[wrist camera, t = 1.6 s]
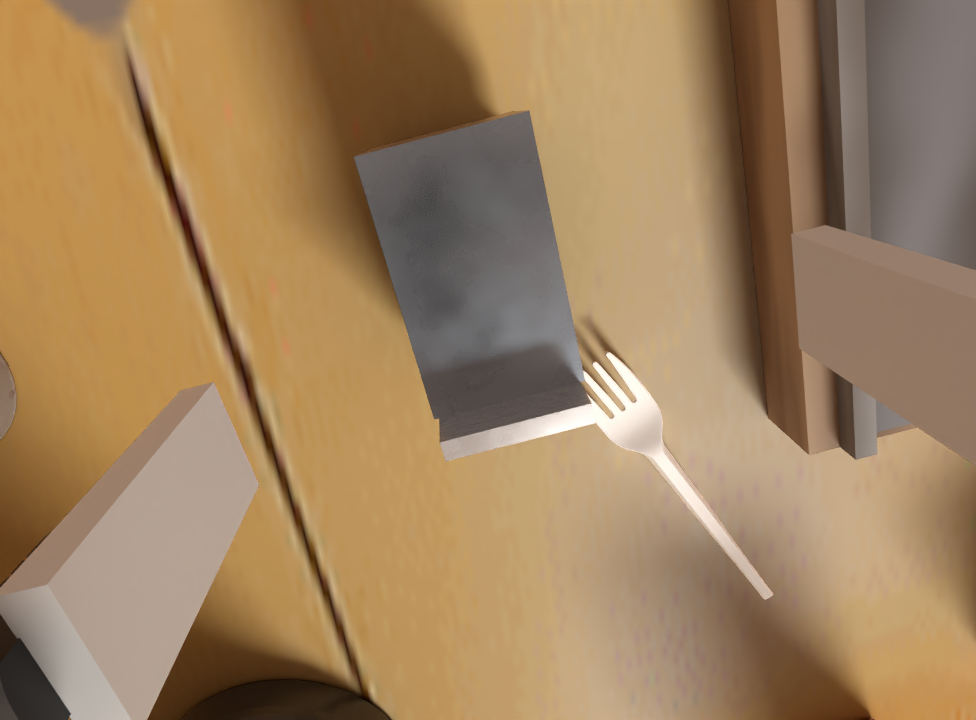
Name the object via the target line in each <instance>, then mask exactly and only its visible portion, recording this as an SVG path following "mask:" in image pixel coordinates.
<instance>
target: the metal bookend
mask: <svg viewBox="0 0 976 720" xmlns="http://www.w3.org/2000/svg"><path fill="white" fill-rule="evenodd" d="M354 160H355V163H356V166H357V169H358V173H359V176H360V179H361V182H362V186H363V189H364V192H365V195H366V199H367V202H368V205H369V208H370V212H371V215H372V218H373V221H374V225H375V228H376V231H377V234H378V238H379V241H380V244H381V247H382V251H383V254H384V257H385V260H386V264H387V267H388V270H389V273H390V277H391V280H392V283H393V286H394V290H395V293H396V296H397V300H398V303H399V306H400V309H401V313H402V316H403V319H404V322H405V326H406V329H407V332H408V335H409V339H410V342H411V345H412V348H413V352H414V355H415V358H416V361H417V365H418V368H419V371H420V374H421V378H422V381H423V384H424V387H425V391H426V394H427V397H428V400H429V404H430V407H431V410H432V413H433V417H434V419H438V418H439V423H440V444H441V448H442V451H443V454H444V457H445V461H449V460H453V459H457V458H461V457H465V456H469V455H473V454H476V453H480V452H484V451H488V450H492V449H496V448H500V447H504V446H508V445H512V444H515V443H519V442H523V441H527V440H531V439H535V438H539V437H543V436H547V435H551V434H554V433H558V432H562V431H566V430H570V429H574V428H578V427H582V426H586V425H589V424H593V423H596V421H595V416H594V411H593V407H592V403H591V401H590V399H589V397H588V395H587V394H586V392H585V390H584V388H583V386H582V385H581V383H580V382H582V381H585V378H584V373H583V368H582V363H581V358H580V354H579V349H578V344H577V339H576V334H575V329H574V325H573V320H572V315H571V310H570V305H569V300H568V296H567V291H566V286H565V281H564V276H563V272H562V267H561V262H560V257H559V252H558V247H557V243H556V238H555V233H554V228H553V223H552V218H551V214H550V209H549V204H548V199H547V194H546V189H545V185H544V180H543V175H542V170H541V165H540V161H539V156H538V151H537V146H536V141H535V136H534V132H533V127H532V122H531V117H530V112H529V111H512V112H508V113H504V114H500V115H496V116H493V117H489V118H485V119H481V120H477V121H474V122H470V123H466V124H462V125H458V126H455V127H451V128H447V129H443V130H440V131H436V132H432V133H428V134H424V135H421V136H417V137H413V138H409V139H405V140H402V141H398V142H394V143H390V144H386V145H383V146H379V147H375V148H371V149H368V150H366V151H364V152H362V153H360V154H358V155H356V156H354Z"/></svg>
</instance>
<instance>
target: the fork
mask: <svg viewBox="0 0 976 720" xmlns="http://www.w3.org/2000/svg"><path fill="white" fill-rule="evenodd" d="M606 356H607V357H608V359H609V360H610V361H611V363H612V364H613V366H614V367H615V368H616V370H617V371H618V373H619V374H620V376H621V377H622V379H623V380H624V381H625V383H626V384H627V386H628V387H629V389H630V390H631V392H632V393H633V395H634V396H635V398H636V401H635V402H632V401H631V400H630V399H629V398H628V397H627V395H626V394H625V393H624V392H623V390H622V389H621V388H620V387H619V386H618V384H617V383H616V382H615V381H614V380H613V379H612V378H611V377H610V376H609V375H608V373H607V372H606V371H605V370H604V369H603V368H602V367H601V366H600V365H599V364H598V363H597V362H596V361H594V362H593V363H592V365H593V367H594V368H595V369H596V371H597V372H598V373H599V374H600V376H601V377H602V378H603V380H604V381H605V382H606V383H607V385H608V386H609V387H610V388H611V390H612V391H613V392H614V393H615V395H616V396H617V397H618V398H619V399H620V401H621V402H622V403H623V405H624V406H625V409H624V410H623V411H622V410H620V409H619V408H618V406H617V405H616V404H615V403H614V402H613V400H612V399H611V398H610V397H609V396H608V395H607V393H606V392H605V391H604V390H603V389H602V388H601V387H600V386H599V385H598V384H597V383H596V382H595V381H594V380H593V379H592V378H591V377H590V376H589V375H588V373H587V372H585V371H584V370H583V373H584V378H585V381H586V382H587V383H588V384H589V386H590V387H591V388H592V389H593V390H594V392H595V393H596V394H597V395H598V397H599V398H600V399H601V400H602V401H603V402H604V403H605V405H606V406H607V407H608V408H609V409H610V411H611V412H612V413H613V415H614V416H613V418H609V417H608V416H607V415H606V413H605V412H604V411H603V410H602V409H601V408H600V406H599V405H598V404H597V403H596V402H595V401H594V400H593V399H592V398H591V397H590V396H589V395H588V394H587V393H586V394H587V395H588V397H589V399H590V401H591V403H592V407H593V411H594V416H595V421H596V424H597V425H598V426H599V427H600V429H601V430H602V431H603V432H604V433H605V434H606V435H607V437H608V438H609V439H610V440H611V441H612V442H614V443H615V444H616V445H618V446H620V447H622V448H624V449H627V450H631V451H635V452H639V453H642V454H644V455H645V456H646V457H647V458H648V459H649V460H650V462H651V463H652V464H653V465H654V466H655V468H656V469H657V470H658V471H659V473H660V474H661V475H662V476H663V477H664V479H665V480H666V481H667V482H668V483H669V485H670V486H671V487H672V488H673V490H674V491H675V492H676V493H677V494H678V496H679V497H680V498H681V499H682V501H683V502H684V503H685V504H686V505H687V507H688V508H689V509H690V510H691V512H692V513H693V514H694V515H695V516H696V518H697V519H698V520H699V521H700V522H701V524H702V525H703V526H704V527H705V528H706V530H707V531H708V532H709V533H710V534H711V536H712V537H713V538H714V539H715V540H716V542H717V543H718V544H719V545H720V546H721V548H722V549H723V550H724V551H725V552H726V554H727V555H728V556H729V557H730V558H731V560H732V561H733V562H734V563H735V565H736V566H737V567H738V568H739V569H740V571H741V572H742V573H743V574H744V576H745V577H746V578H747V579H748V580H749V582H750V583H751V584H752V585H753V587H754V588H755V589H756V590H757V592H758V593H759V594H760V595H761V597H762V598H763V599H764V600H766V599H768V598H770V597H771V596H773V595H774V594H773V593H772V591H771V590H770V589H769V587H768V586H767V585H766V583H765V582H764V581H763V579H762V578H761V577H760V575H759V574H758V573H757V571H756V570H755V568H754V567H753V566H752V564H751V563H750V562H749V560H748V559H747V558H746V556H745V555H744V553H743V552H742V551H741V549H740V548H739V547H738V545H737V544H736V542H735V541H734V540H733V538H732V537H731V535H730V534H729V533H728V531H727V530H726V529H725V527H724V526H723V524H722V523H721V522H720V520H719V519H718V517H717V516H716V515H715V513H714V512H713V510H712V509H711V508H710V506H709V505H708V503H707V502H706V501H705V499H704V498H703V497H702V495H701V494H700V492H699V491H698V490H697V488H696V487H695V486H694V484H693V483H692V482H691V480H690V479H689V478H688V476H687V475H686V474H685V472H684V471H683V469H682V468H681V467H680V465H679V464H678V463H677V461H676V460H675V459H674V457H673V456H672V455H671V453H670V452H669V450H668V449H667V448H666V446H665V445H664V443H663V440H662V428H663V420H662V414H661V411H660V409H659V407H658V405H657V403H656V402H655V401H654V400H653V398H652V396H651V395H650V393H649V392H648V390H647V389H646V388H645V386H644V385H643V384H642V382H641V381H640V380H639V379H638V377H637V376H636V375H635V374H634V373H633V372H632V371H631V370H630V369H629V368H628V367H627V366H626V365H625V364H624V363H623V362H622V361H620V360H619V359H618V358H617V357H616V356H614V355H613V354H612V353H610V352H606Z"/></svg>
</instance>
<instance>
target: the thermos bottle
mask: <svg viewBox="0 0 976 720" xmlns="http://www.w3.org/2000/svg"><path fill="white" fill-rule="evenodd" d="M16 399H17V395H16V389H15V383H14V379H13V377H12V374H11V372H10V369H9V367H8V365H7V363H6V361H5V360H4V358H3V357H2V355H1V353H0V439H1V438H3V437H4V435H5V434H6V432H7V430H8V429H9V427H10V426H11V424H12V421H13V417H14V414H15V411H16Z"/></svg>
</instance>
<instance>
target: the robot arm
mask: <svg viewBox="0 0 976 720" xmlns="http://www.w3.org/2000/svg"><path fill="white" fill-rule="evenodd" d="M791 238H792V253H793V267H794V281H795V295H796V310H797V324H798V338H799V349H801V350H802V351H804V352H805V353H807V354H808V355H810V356H811V357H813V358H814V359H816V360H817V361H819V362H820V363H822V364H823V365H825V366H826V367H828V368H829V369H831V370H832V371H834V372H835V373H837V374H838V375H840V376H841V377H843V378H844V379H846V380H847V381H849V382H850V383H852V384H853V385H855V386H856V387H858V388H859V389H861V390H862V391H864V392H865V393H867V394H868V395H870V396H871V397H873V398H874V399H876V400H877V401H879V402H880V403H882V404H883V405H885V406H886V407H888V408H889V409H891V410H892V411H894V412H895V413H897V414H898V415H900V416H901V417H903V418H904V419H906V420H907V421H909V422H910V423H912V424H913V425H915V426H916V427H918V428H919V429H921V430H922V431H924V432H925V433H927V434H928V435H930V436H931V437H933V438H934V439H936V440H937V441H939V442H940V443H942V444H943V445H945V446H946V447H948V448H949V449H951V450H952V451H954V452H956V453H957V454H959V455H960V456H962V457H963V458H965V459H966V460H968V461H969V462H971V463H972V464H974V465H975V466H976V270H973V269H970V268H966V267H963V266H960V265H956V264H953V263H950V262H947V261H943V260H940V259H937V258H933V257H930V256H927V255H923V254H920V253H917V252H913V251H910V250H907V249H903V248H900V247H897V246H893V245H890V244H887V243H883V242H880V241H877V240H873V239H870V238H867V237H863V236H860V235H857V234H854V233H850V232H847V231H844V230H840V229H837V228H834V227H830V226H827V225H824V226H820V227H816V228H812V229H808V230H805V231H801V232H797V233H793V234H791ZM258 486H259V484H258V481H257V479H256V477H255V475H254V472H253V470H252V468H251V466H250V463H249V461H248V459H247V457H246V454H245V452H244V450H243V447H242V445H241V443H240V441H239V438H238V436H237V434H236V432H235V429H234V427H233V425H232V422H231V420H230V418H229V416H228V413H227V411H226V409H225V407H224V404H223V402H222V400H221V397H220V395H219V393H218V391H217V388H216V386H215V384H214V382H212V383H208V384H204V385H200V386H196V387H192V388H188V389H184V390H181V391H180V392H179V393H178V394H177V395H176V396H175V397H174V398H173V399H172V401H171V402H170V403H169V404H168V405H167V406H166V407H165V408H164V409H163V410H162V411H161V413H160V414H159V415H158V416H157V417H156V418H155V419H154V420H153V421H152V422H151V423H150V425H149V426H148V427H147V428H146V429H145V430H144V431H143V432H142V433H141V434H140V436H139V437H138V438H137V439H136V440H135V441H134V442H133V443H132V444H131V445H130V446H129V448H128V449H127V450H126V451H125V452H124V453H123V454H122V455H121V456H120V457H119V458H118V460H117V461H116V462H115V463H114V464H113V465H112V466H111V467H110V468H109V469H108V470H107V472H106V473H105V474H104V475H103V476H102V477H101V478H100V479H99V480H98V481H97V483H96V484H95V485H94V486H93V487H92V488H91V489H90V490H89V491H88V492H87V493H86V495H85V496H84V497H83V498H82V499H81V500H80V501H79V502H78V503H77V504H76V505H75V507H74V508H73V509H72V510H71V511H70V512H69V513H68V514H67V515H66V516H65V518H64V519H63V520H62V521H61V522H60V523H59V524H58V525H57V526H56V527H55V528H54V530H53V531H52V532H50V533H49V534H48V535H46V536H45V537H44V538H43V539H42V540H41V542H40V543H39V544H38V545H37V546H36V547H35V548H34V549H33V550H32V551H31V552H30V553H29V555H28V556H27V559H26V560H23V561H22V562H21V563H20V564H19V565H18V567H17V568H16V569H15V570H14V571H13V572H12V573H11V574H12V575H11V577H8V578H7V579H6V580H5V581H4V582H3V583H2V584H1V585H0V720H68V718H69V717H70V718H71V720H147V719H148V717H149V714H150V712H151V710H152V708H153V706H154V704H155V702H156V700H157V698H158V696H159V693H160V691H161V689H162V687H163V685H164V683H165V681H166V679H167V677H168V675H169V673H170V670H171V668H172V666H173V664H174V662H175V660H176V658H177V656H178V654H179V652H180V649H181V647H182V645H183V643H184V641H185V639H186V637H187V635H188V633H189V631H190V628H191V626H192V624H193V622H194V620H195V618H196V616H197V614H198V612H199V610H200V608H201V605H202V603H203V601H204V599H205V597H206V595H207V593H208V591H209V589H210V587H211V584H212V582H213V580H214V578H215V576H216V574H217V572H218V570H219V568H220V566H221V564H222V561H223V559H224V557H225V555H226V553H227V551H228V549H229V547H230V545H231V543H232V540H233V538H234V536H235V534H236V532H237V530H238V528H239V526H240V524H241V522H242V519H243V517H244V515H245V513H246V511H247V509H248V507H249V505H250V503H251V501H252V499H253V496H254V494H255V492H256V490H257V488H258ZM180 720H390V719H389V718H388V717H387V716H386V715H385V714H383V713H382V712H381V711H380V710H379V709H377V708H376V707H375V706H373V705H372V704H370V703H369V702H367V701H365V700H364V699H362V698H360V697H358V696H356V695H354V694H351V693H349V692H347V691H344V690H341V689H338V688H335V687H332V686H328V685H324V684H319V683H314V682H307V681H296V680H273V681H262V682H256V683H250V684H246V685H242V686H238V687H235V688H231V689H229V690H226V691H223V692H221V693H218V694H216V695H214V696H212V697H210V698H208V699H206V700H205V701H203V702H201V703H200V704H198V705H197V706H195V707H194V708H193V709H191V710H190V711H189V712H188V713H187V714H186V715H184V716H183V717H182V718H181V719H180Z"/></svg>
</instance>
